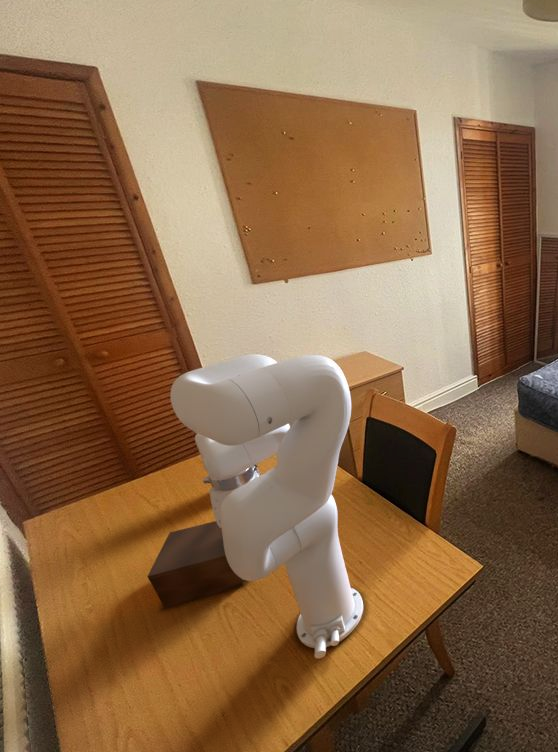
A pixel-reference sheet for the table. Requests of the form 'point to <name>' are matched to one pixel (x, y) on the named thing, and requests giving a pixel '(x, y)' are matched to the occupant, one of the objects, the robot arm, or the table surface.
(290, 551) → the robot arm
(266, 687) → the table surface
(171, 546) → the cabinet
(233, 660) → the table surface
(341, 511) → the table surface
